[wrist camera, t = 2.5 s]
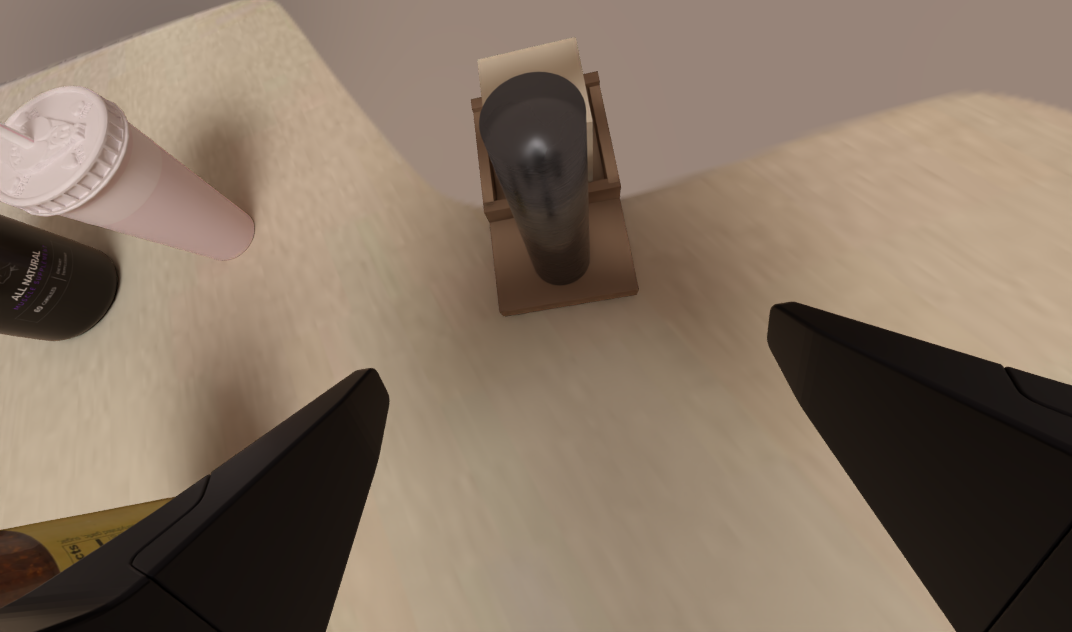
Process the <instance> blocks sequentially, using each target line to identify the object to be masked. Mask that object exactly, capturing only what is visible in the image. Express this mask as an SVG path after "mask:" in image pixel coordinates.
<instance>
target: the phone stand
mask: <svg viewBox="0 0 1072 632" xmlns="http://www.w3.org/2000/svg"><path fill="white" fill-rule="evenodd" d="M583 76H584V81H585V86H586V91H587V96H588V101H589V106H590V111H591V116H592V123H593V182H589V183H588V158H587V119H586V105H585V101H584V98H583V96H582V94H581V92H580V91H579V89H578V88H577V87H576V86H575V85H574V84H573V83H572V82H570V81H569V80H567V79H566V78H564V77H562V76H559V75H557V74H553V73H548V72H530V73H524V74H521V75H518V76H515V77H513V78H510V79H509V80H507V81H505V82H504V83H502V84H501V85H499V86H498V87H497V88H496V89H495V90H494V91H493V92H492V93H491V94H490V95H489V97H488V98H487V99H486V101H485V103H484V105H483V104H482V97H480V98H475V99H471V104H472V110H473V113H474V123H475V132H476V139H477V140H476V141H477V150H478V159H479V169H480V178H481V187H482V195H483V205H484V213H485V215H486V217H487V219H488V220H489V222H490V230H491V239H492V248H493V257H494V266H495V275H496V284H497V293H498V302H499V311H500V313H501V314H502V315H503V316H509V315H516V314H522V313H528V312H534V311H540V310H546V309H552V308H558V307H564V306H570V305H576V304H582V303H588V302H594V301H600V300H606V299H612V298H618V297H624V296H631V295H637V292H638V289H639V288H638V284H637V279H636V274H635V269H634V264H633V260H632V255H631V250H630V245H629V240H628V236H627V231H626V226H625V221H624V217H623V212H622V207H621V202H620V190H621V184H620V179H619V175H618V170H617V165H616V161H615V156H614V151H613V147H612V142H611V137H610V132H609V128H608V123H607V118H606V113H605V109H604V104H603V99H602V95H601V90H600V84H599V83H600V81H599V76H598V71H596V72H592V73H587V74H583Z"/></svg>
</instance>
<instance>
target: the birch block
mask: <svg viewBox="0 0 1072 632" xmlns="http://www.w3.org/2000/svg"><path fill="white" fill-rule="evenodd" d="M477 61H478V70H479V78H480V87H481V96H482V104H483V105H484V103H485V101H486V99H487V98H488V97H489V95H490V94H491V93H492V92H493V91H494V90H495V89H496V88H497V87H498V86H499V85H501V84H502V83H504V82H505V81H507V80H509V79H510V78H513V77H515V76H518V75H521V74H524V73H530V72H548V73H553V74H557V75H559V76H562V77H564V78H566V79H567V80H569V81H570V82H572V83H573V84H574V85H575V86H576V87H577V88H578V89H579V91H580V92H581V94H582V96H583V98H584V101H585V105H586V119H587V158H588V183H589V182H593V123H592V116H591V111H590V106H589V101H588V96H587V91H586V86H585V81H584V76H583V71H582V66H581V62H580V57H579V52H578V47H577V42H576V37H573V38H569V39H565V40H560V41H556V42H552V43H547V44H543V45H539V46H534V47H530V48H526V49H522V50H517V51H513V52H509V53H504V54H500V55H496V56H492V57H487V58H483V59H479V60H477Z"/></svg>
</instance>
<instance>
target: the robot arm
mask: <svg viewBox="0 0 1072 632" xmlns="http://www.w3.org/2000/svg"><path fill="white" fill-rule="evenodd" d="M767 342H768V345H769V348H770V350H771V352H772V354H773V356H774V357H775V359H776V361H777V363H778V365H779V367H780V369H781V371H782V373H783V374H784V376H785V378H786V380H787V382H788V384H789V386H790V388H791V390H792V392H793V393H794V395H795V397H796V399H797V401H798V402H799V404H800V406H801V407H802V409H803V410H804V412H805V413H806V415H807V416H808V418H809V419H810V421H811V422H812V424H813V425H814V426H815V428H816V429H817V431H818V432H819V434H820V435H821V437H822V438H823V439H824V441H825V442H826V444H827V445H828V447H829V448H830V450H831V451H832V453H833V454H834V455H835V457H836V458H837V460H838V461H839V463H840V464H841V466H842V467H843V468H844V470H845V471H846V473H847V474H848V476H849V477H850V479H851V480H852V481H853V483H854V484H855V486H856V487H857V489H858V490H859V492H860V493H861V495H862V496H863V497H864V499H865V500H866V502H867V503H868V505H869V506H870V508H871V509H872V510H873V512H874V513H875V515H876V516H877V518H878V519H879V521H880V522H881V524H882V525H883V526H884V528H885V529H886V531H887V532H888V534H889V535H890V537H891V538H892V539H893V541H894V542H895V544H896V545H897V547H898V548H899V550H900V551H901V552H902V554H903V555H904V557H905V558H906V560H907V561H908V563H909V564H910V566H911V567H912V568H913V570H914V571H915V573H916V574H917V576H918V577H919V579H920V580H921V581H922V583H923V584H924V586H925V587H926V589H927V590H928V592H929V593H930V594H931V596H932V597H933V599H934V600H935V602H936V603H937V605H938V606H939V608H940V609H941V610H942V612H943V613H944V615H945V616H946V618H947V619H948V621H949V622H950V623H951V625H952V626H953V628H954V629H955V631H956V632H1072V385H1069V384H1065V383H1062V382H1058V381H1055V380H1051V379H1048V378H1045V377H1041V376H1038V375H1034V374H1031V373H1028V372H1025V371H1021V370H1018V369H1015V368H1012V367H1005V368H1004V367H1003V366H1002V365H1001V364H998V363H995V362H991V361H988V360H985V359H982V358H978V357H975V356H972V355H968V354H965V353H962V352H958V351H955V350H952V349H949V348H945V347H942V346H939V345H935V344H932V343H929V342H925V341H922V340H919V339H916V338H912V337H909V336H906V335H902V334H899V333H896V332H893V331H889V330H886V329H883V328H879V327H876V326H873V325H870V324H866V323H863V322H860V321H856V320H853V319H850V318H846V317H843V316H840V315H837V314H833V313H830V312H827V311H823V310H820V309H817V308H814V307H810V306H807V305H804V304H800V303H797V302H786V303H780V304H775V305H773V306H772V307H771V310H770V315H769V324H768V332H767ZM388 409H389V394H388V392H387V390H386V388H385V386H384V384H383V382H382V380H381V378H380V376H379V374H378V372H377V371H376V370H375V369H373V368H367V369H361V370H357V371H355V372H353V373H352V374H350V375H349V376H347V377H346V378H345V379H343V380H342V381H340V382H339V383H337V384H336V385H335V386H333V387H332V388H330V389H329V390H327V391H326V392H325V393H323V394H322V395H320V396H319V397H318V398H316V399H315V400H313V401H312V402H310V403H309V404H308V405H306V406H305V407H303V408H302V409H300V410H299V411H298V412H296V413H295V414H293V415H292V416H290V417H289V418H288V419H286V420H285V421H283V422H282V423H281V424H279V425H278V426H276V427H275V428H273V429H272V430H271V431H269V432H268V433H266V434H265V435H263V436H262V437H261V438H259V439H258V440H256V441H255V442H254V443H252V444H251V445H249V446H248V447H246V448H245V449H244V450H242V451H241V452H239V453H238V454H236V455H235V456H234V457H232V458H231V459H229V460H228V461H226V462H225V463H224V464H222V465H221V466H219V467H218V468H217V469H215V470H214V471H212V473H211V475H210V474H209V475H206V476H205V477H204V478H202V479H201V480H199V481H198V482H196V483H195V484H194V485H192V486H191V487H189V488H188V489H186V490H185V491H184V492H182V493H181V494H179V495H178V496H176V497H175V498H173V499H172V500H170V501H169V502H168V503H166V504H165V505H163V506H162V507H160V508H159V509H157V510H156V511H154V512H153V513H151V514H150V515H148V516H147V517H145V518H144V519H142V520H141V521H139V522H138V523H136V524H134V525H133V526H131V527H130V528H128V529H127V530H125V531H124V532H122V533H121V534H119V535H118V536H116V537H115V538H113V539H111V540H110V541H108V542H107V543H105V544H104V545H102V546H101V547H99V548H98V549H96V550H94V551H93V552H91V553H90V554H88V555H87V556H85V557H84V558H82V559H80V560H79V561H77V562H76V563H74V564H73V565H71V566H70V567H68V568H67V569H65V570H63V571H62V572H60V573H59V574H57V575H56V576H54V577H53V578H51V579H49V580H48V581H46V582H45V583H43V584H42V585H40V586H39V587H37V588H35V589H34V590H32V591H31V592H29V593H27V594H26V595H24V596H22V597H21V598H19V599H17V600H15V601H13V602H11V603H9V604H7V605H5V606H3V607H1V608H0V632H326V629H327V626H328V623H329V620H330V616H331V613H332V610H333V607H334V603H335V600H336V597H337V594H338V590H339V587H340V584H341V581H342V577H343V574H344V571H345V568H346V564H347V561H348V558H349V555H350V551H351V548H352V545H353V542H354V538H355V535H356V532H357V529H358V525H359V522H360V519H361V516H362V513H363V509H364V506H365V503H366V500H367V496H368V493H369V490H370V487H371V483H372V480H373V477H374V474H375V470H376V467H377V463H378V459H379V455H380V450H381V445H382V440H383V435H384V429H385V424H386V419H387V414H388Z"/></svg>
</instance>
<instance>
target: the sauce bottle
mask: <svg viewBox="0 0 1072 632" xmlns="http://www.w3.org/2000/svg"><path fill="white" fill-rule="evenodd" d="M173 498H175V497H172V498H166V499H160V500H155V501H150V502H145V503H140V504H135V505H129V506H124V507H119V508H114V509H109V510H104V511H98V512H93V513H88V514H82V515H77V516H72V517H66V518H61V519H56V520H50V521H45V522H40V523H34V524H29V525H24V526H19V527H13V528H8V529H3V530H0V608H1V607H3V606H5V605H7V604H9V603H11V602H13V601H15V600H17V599H19V598H21V597H22V596H24V595H26V594H27V593H29V592H31V591H32V590H34V589H35V588H37V587H39V586H40V585H42V584H43V583H45V582H46V581H48V580H49V579H51V578H53V577H54V576H56V575H57V574H59V573H60V572H62V571H63V570H65V569H67V568H68V567H70V566H71V565H73V564H74V563H76V562H77V561H79V560H80V559H82V558H84V557H85V556H87V555H88V554H90V553H91V552H93V551H94V550H96V549H98V548H99V547H101V546H102V545H104V544H105V543H107V542H108V541H110V540H111V539H113V538H115V537H116V536H118V535H119V534H121V533H122V532H124V531H125V530H127V529H128V528H130V527H131V526H133V525H134V524H136V523H138V522H139V521H141V520H142V519H144V518H145V517H147V516H148V515H150V514H151V513H153V512H154V511H156V510H157V509H159V508H160V507H162V506H163V505H165V504H166V503H168V502H169V501H170V500H172V499H173Z"/></svg>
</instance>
